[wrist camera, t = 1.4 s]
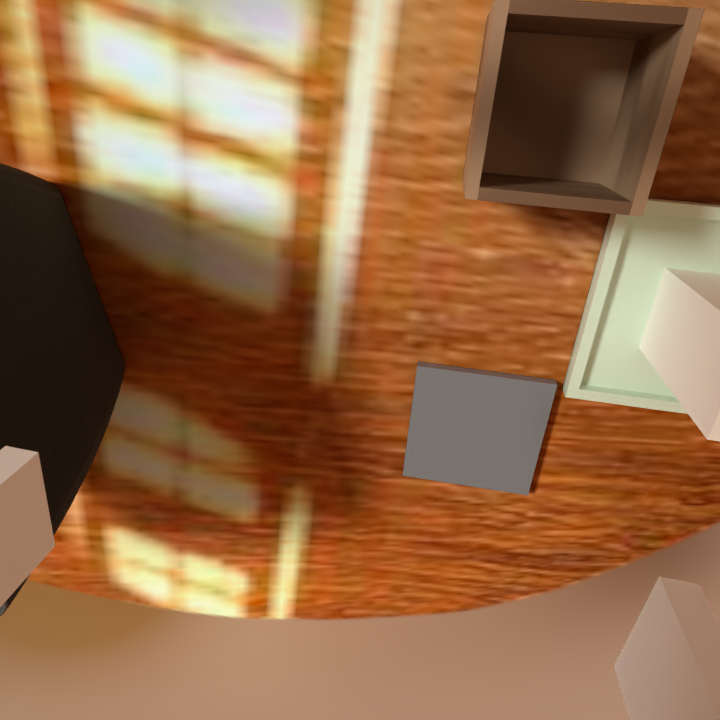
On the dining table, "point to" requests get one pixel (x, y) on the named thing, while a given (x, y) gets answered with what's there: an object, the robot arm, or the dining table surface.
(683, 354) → the cream square pillar
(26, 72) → the dining table surface
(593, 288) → the green tray
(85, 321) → the flower pot
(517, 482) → the slate coaster
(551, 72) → the walnut open box
